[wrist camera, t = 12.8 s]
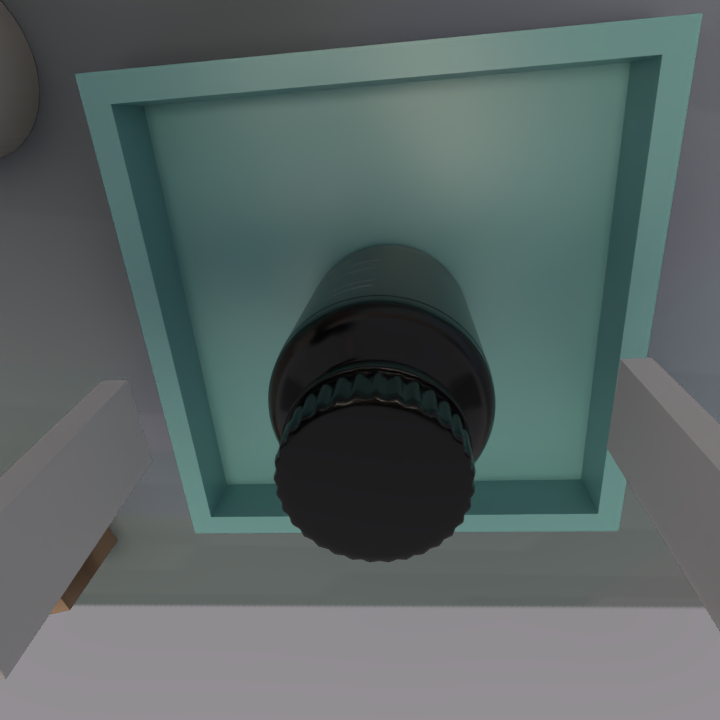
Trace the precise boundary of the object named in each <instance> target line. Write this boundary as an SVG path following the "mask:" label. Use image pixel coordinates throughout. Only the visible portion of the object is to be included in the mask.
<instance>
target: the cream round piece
mask: <svg viewBox="0 0 720 720" xmlns="http://www.w3.org/2000/svg"><path fill="white" fill-rule="evenodd" d="M38 105H39V81H38V75H37V69H36V65H35V61H34V58H33V55H32V52H31V50H30V47H29V44H28V42H27V40H26V38H25V36H24V34H23V32H22V30H21V28H20V27H19V25H18V24H17V22H16V20H15V19H14V17H13V16H12V15H11V13H10V12H9V11H8V9H7V8H6V7H5V6H4V4H3V3H2V2H1V1H0V158H1V157H3V156H6V155H8V154H9V153H11V152H13V151H14V150H15V149H17V148H18V147H19V146H20V145H21V144H22V143H23V142H24V141H25V139H26V138H27V137H28V135H29V133H30V131H31V130H32V128H33V125H34V122H35V120H36V116H37V111H38Z"/></svg>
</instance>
